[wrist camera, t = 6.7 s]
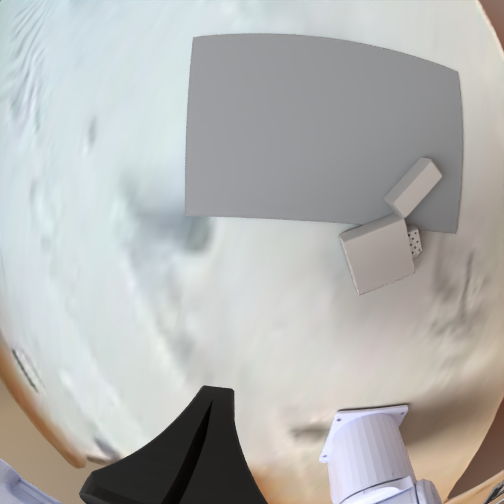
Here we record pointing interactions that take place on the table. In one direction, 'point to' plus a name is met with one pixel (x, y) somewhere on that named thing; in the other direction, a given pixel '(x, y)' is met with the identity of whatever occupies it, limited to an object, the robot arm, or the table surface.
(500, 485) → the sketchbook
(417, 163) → the lighter
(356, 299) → the table surface
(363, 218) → the mat
